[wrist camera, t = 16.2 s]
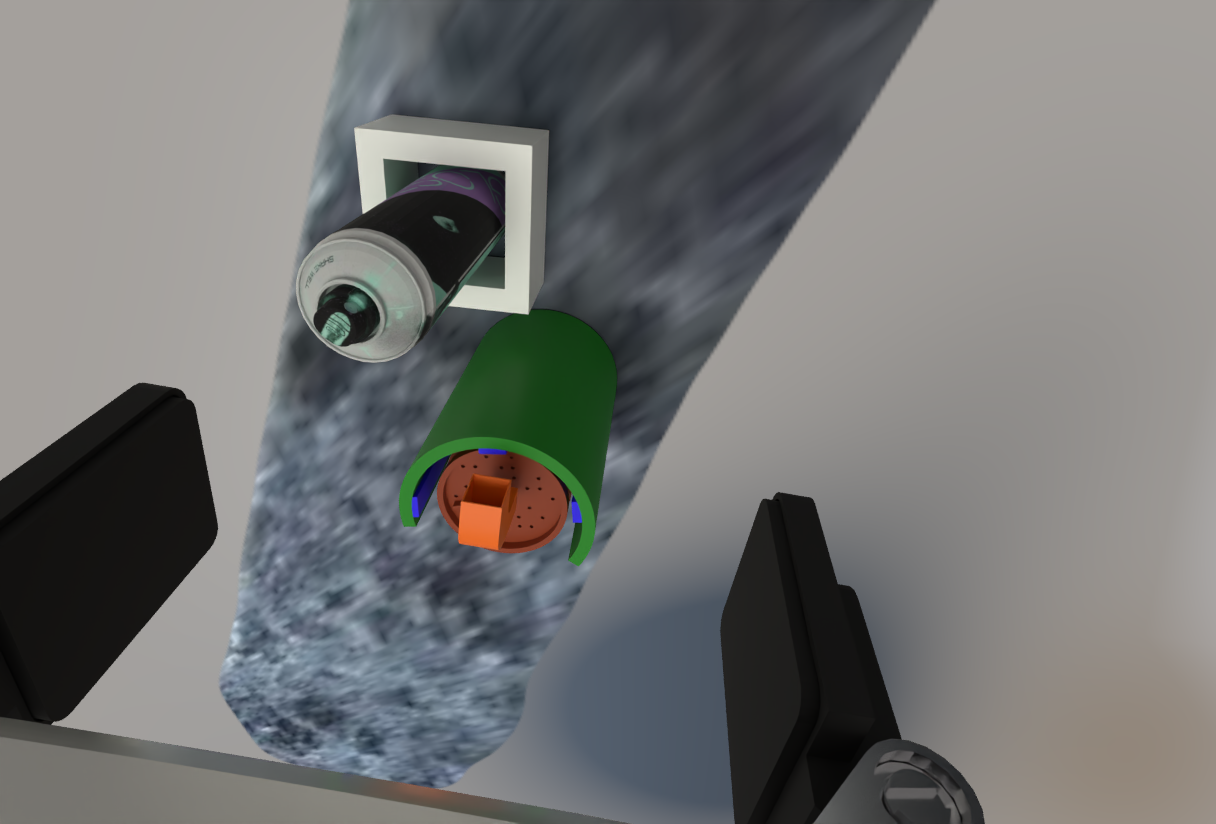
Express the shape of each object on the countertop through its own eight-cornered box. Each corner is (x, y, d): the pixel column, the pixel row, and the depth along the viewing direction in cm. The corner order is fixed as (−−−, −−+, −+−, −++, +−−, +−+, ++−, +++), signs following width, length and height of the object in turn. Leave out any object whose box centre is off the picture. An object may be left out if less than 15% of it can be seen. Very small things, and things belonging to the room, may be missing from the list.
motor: (481, 421, 51) (383, 630, 34) (466, 308, 46) (343, 482, 29) (618, 424, 50) (588, 640, 33) (615, 309, 46) (579, 489, 28)
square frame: (391, 114, 41) (354, 127, 36) (549, 130, 40) (532, 145, 36) (402, 267, 45) (371, 297, 41) (543, 282, 45) (528, 314, 40)
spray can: (519, 164, 41) (408, 271, 24) (511, 251, 44) (406, 403, 27) (430, 146, 41) (255, 242, 24) (427, 235, 44) (268, 378, 27)
